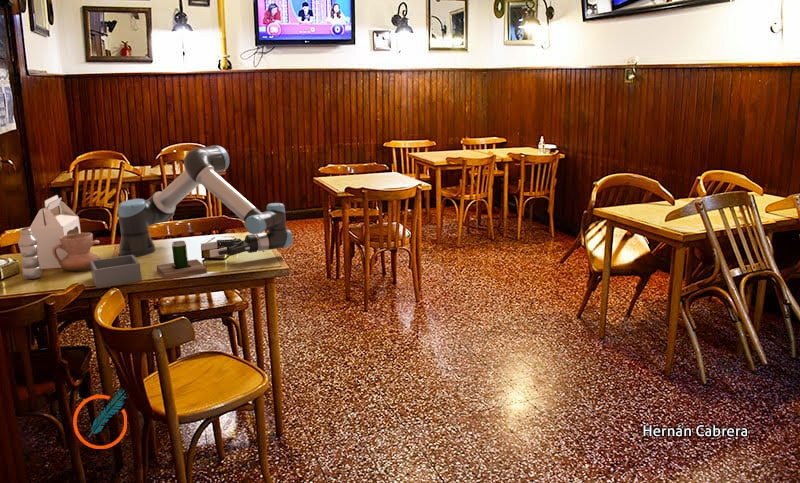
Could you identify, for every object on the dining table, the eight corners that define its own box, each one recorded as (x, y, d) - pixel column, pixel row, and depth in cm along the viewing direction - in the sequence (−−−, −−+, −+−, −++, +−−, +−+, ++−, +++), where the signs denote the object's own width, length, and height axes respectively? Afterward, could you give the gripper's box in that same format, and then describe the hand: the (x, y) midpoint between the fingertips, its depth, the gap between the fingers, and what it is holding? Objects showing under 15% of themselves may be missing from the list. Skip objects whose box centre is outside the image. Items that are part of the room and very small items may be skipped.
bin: (92, 277, 259) (89, 260, 258) (135, 271, 267) (133, 254, 265) (96, 288, 246) (94, 270, 244) (142, 281, 254) (139, 263, 252)
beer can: (176, 274, 262) (173, 244, 259) (173, 271, 266) (170, 242, 263) (190, 271, 265) (187, 242, 262) (186, 268, 269) (183, 240, 266)
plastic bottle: (28, 276, 264) (20, 227, 259) (45, 275, 264) (38, 226, 259) (20, 281, 257) (12, 231, 253) (38, 280, 258) (30, 230, 253)
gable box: (68, 267, 276) (58, 201, 269) (34, 269, 274) (24, 203, 267) (84, 254, 297) (75, 192, 291) (52, 256, 295) (43, 194, 288)
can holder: (157, 269, 268) (156, 265, 268) (197, 263, 276) (196, 259, 276) (165, 279, 255) (164, 274, 254) (206, 272, 263) (206, 267, 262)
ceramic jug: (106, 262, 282) (100, 229, 279) (100, 270, 269) (95, 236, 265) (59, 267, 278) (54, 234, 274) (52, 276, 264) (46, 241, 261)
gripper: (266, 257, 269) (214, 266, 259) (247, 245, 290) (198, 252, 280) (265, 239, 267) (212, 247, 257) (246, 229, 289) (197, 235, 278)
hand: (205, 250), depth 269 cm, fingers open, 13 cm apart
